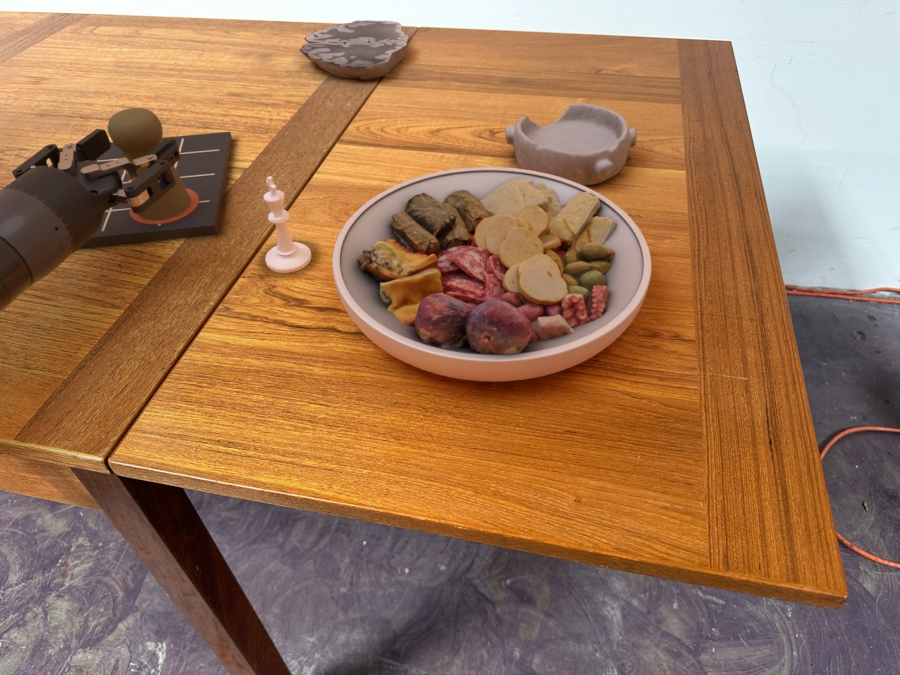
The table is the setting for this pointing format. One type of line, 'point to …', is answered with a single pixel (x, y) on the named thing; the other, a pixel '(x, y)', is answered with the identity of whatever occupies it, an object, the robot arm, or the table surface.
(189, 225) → the board
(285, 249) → the chess piece
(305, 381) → the table surface
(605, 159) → the dish
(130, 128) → the brown knobbed peg
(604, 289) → the bowl
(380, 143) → the table surface
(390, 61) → the brain slice
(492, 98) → the table surface
